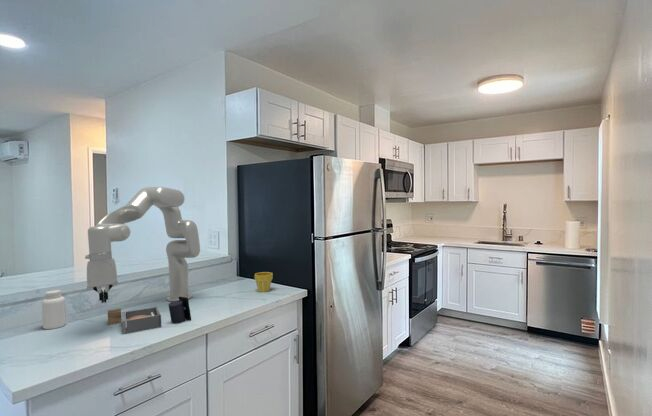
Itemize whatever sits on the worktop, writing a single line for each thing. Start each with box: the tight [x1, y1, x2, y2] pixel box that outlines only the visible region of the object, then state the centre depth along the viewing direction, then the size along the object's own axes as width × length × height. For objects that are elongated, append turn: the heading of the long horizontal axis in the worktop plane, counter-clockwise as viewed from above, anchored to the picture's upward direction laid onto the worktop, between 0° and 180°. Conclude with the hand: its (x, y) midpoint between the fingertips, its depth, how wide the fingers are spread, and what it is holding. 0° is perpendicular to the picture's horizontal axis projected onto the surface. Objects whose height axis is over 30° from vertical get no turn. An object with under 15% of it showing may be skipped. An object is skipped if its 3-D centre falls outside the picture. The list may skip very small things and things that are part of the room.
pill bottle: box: [41, 289, 67, 330], centre depth 151 cm, size 8×8×15 cm
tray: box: [121, 311, 155, 334], centre depth 149 cm, size 13×14×5 cm
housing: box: [125, 306, 162, 334], centre depth 149 cm, size 12×15×5 cm
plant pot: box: [254, 271, 274, 293], centre depth 204 cm, size 10×10×10 cm
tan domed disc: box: [128, 315, 149, 320], centre depth 149 cm, size 8×8×2 cm
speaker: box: [168, 297, 192, 324], centre depth 153 cm, size 8×6×10 cm
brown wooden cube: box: [107, 308, 122, 326], centre depth 155 cm, size 5×5×5 cm
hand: (104, 301), depth 143 cm, fingers closed
